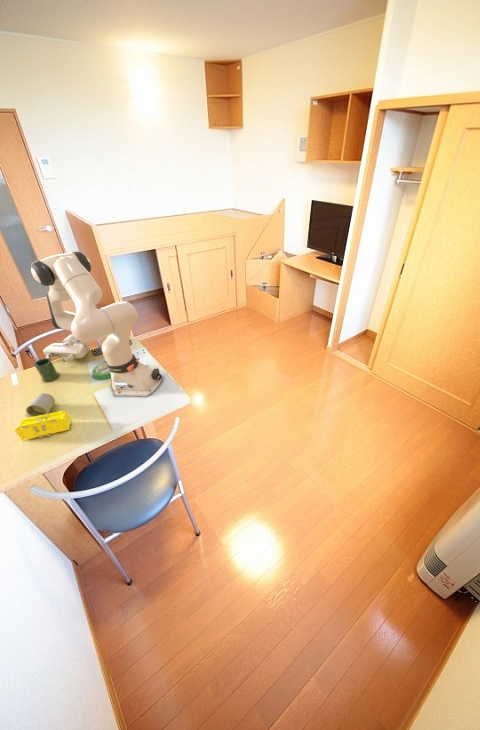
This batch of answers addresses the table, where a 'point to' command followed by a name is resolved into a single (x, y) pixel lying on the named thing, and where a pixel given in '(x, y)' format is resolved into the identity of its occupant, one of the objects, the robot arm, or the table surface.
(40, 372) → the green cup
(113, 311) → the robot arm
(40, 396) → the ceramic mug
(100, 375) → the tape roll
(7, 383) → the table surface
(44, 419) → the yellow toy chassis
